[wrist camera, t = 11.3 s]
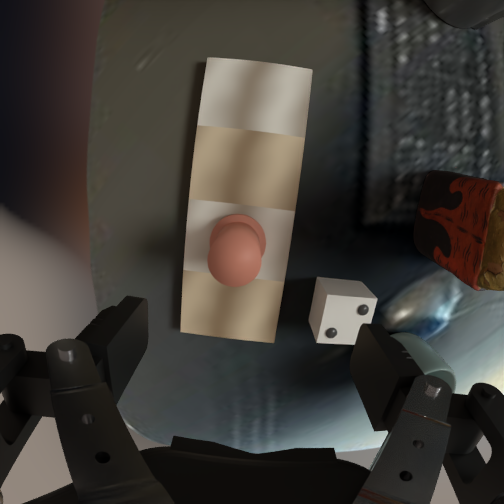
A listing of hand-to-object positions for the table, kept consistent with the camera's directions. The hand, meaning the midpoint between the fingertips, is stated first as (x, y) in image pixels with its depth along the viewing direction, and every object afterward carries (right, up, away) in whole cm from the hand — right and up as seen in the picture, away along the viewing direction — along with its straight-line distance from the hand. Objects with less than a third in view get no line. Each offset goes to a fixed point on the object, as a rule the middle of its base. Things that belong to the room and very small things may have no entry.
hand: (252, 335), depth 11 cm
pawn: (-1, +4, +19) cm, 19 cm away
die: (+9, -2, +22) cm, 24 cm away
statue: (+21, +8, +19) cm, 30 cm away
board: (-1, +8, +19) cm, 21 cm away
